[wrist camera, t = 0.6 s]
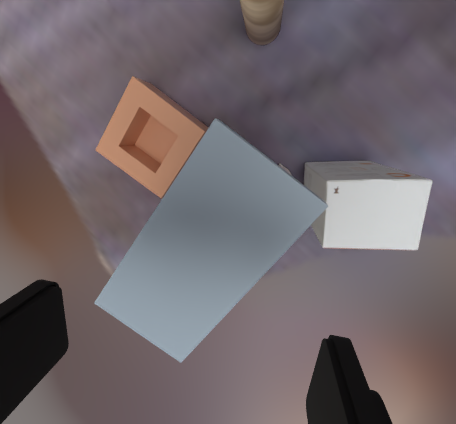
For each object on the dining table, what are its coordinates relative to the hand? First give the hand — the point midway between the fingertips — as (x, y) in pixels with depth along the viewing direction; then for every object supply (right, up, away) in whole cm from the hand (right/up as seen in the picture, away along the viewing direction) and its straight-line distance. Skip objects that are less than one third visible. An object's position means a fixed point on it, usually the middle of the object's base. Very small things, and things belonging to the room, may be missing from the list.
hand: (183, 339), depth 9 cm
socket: (-7, +14, +26) cm, 31 cm away
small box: (+16, +8, +25) cm, 30 cm away
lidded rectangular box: (+3, +7, +27) cm, 28 cm away
